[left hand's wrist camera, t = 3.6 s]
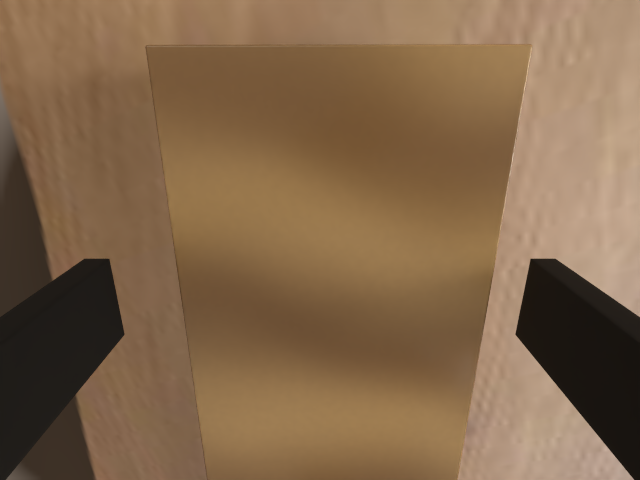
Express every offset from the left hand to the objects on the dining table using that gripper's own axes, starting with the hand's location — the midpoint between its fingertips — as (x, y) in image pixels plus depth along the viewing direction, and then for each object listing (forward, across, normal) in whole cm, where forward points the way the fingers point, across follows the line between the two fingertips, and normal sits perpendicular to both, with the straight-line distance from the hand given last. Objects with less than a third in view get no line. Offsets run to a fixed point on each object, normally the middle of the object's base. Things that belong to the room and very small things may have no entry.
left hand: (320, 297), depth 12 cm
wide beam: (+7, 0, -22) cm, 23 cm away
